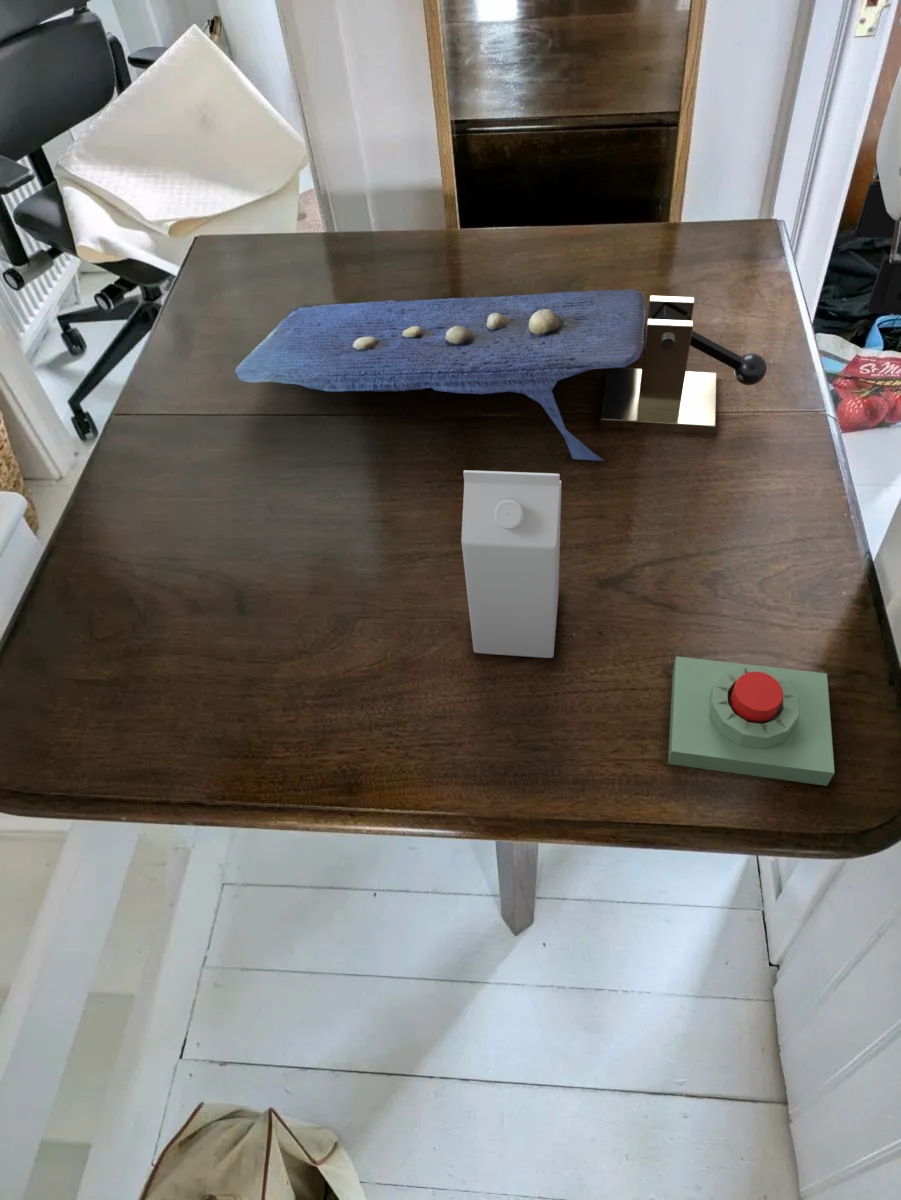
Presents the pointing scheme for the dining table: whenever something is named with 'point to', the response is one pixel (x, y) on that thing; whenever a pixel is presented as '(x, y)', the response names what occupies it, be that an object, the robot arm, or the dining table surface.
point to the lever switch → (723, 352)
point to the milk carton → (512, 560)
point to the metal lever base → (662, 380)
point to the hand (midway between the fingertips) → (883, 271)
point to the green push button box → (750, 724)
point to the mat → (455, 345)
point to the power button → (756, 696)
